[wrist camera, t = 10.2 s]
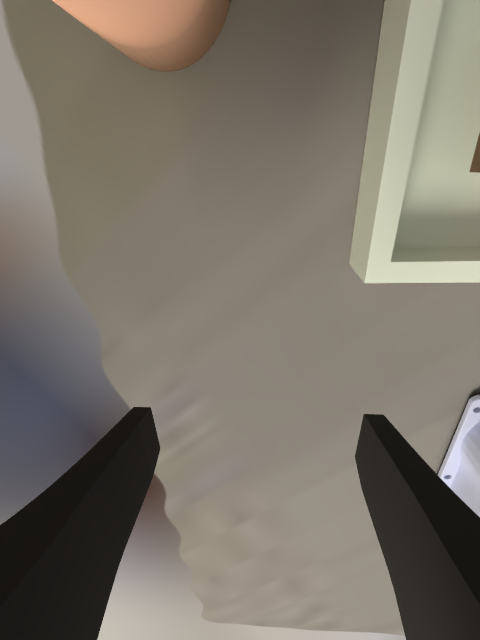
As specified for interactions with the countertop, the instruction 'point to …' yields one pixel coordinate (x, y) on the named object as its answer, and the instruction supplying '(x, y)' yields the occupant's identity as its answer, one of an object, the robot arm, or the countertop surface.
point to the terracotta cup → (154, 28)
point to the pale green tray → (422, 148)
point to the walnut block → (476, 158)
